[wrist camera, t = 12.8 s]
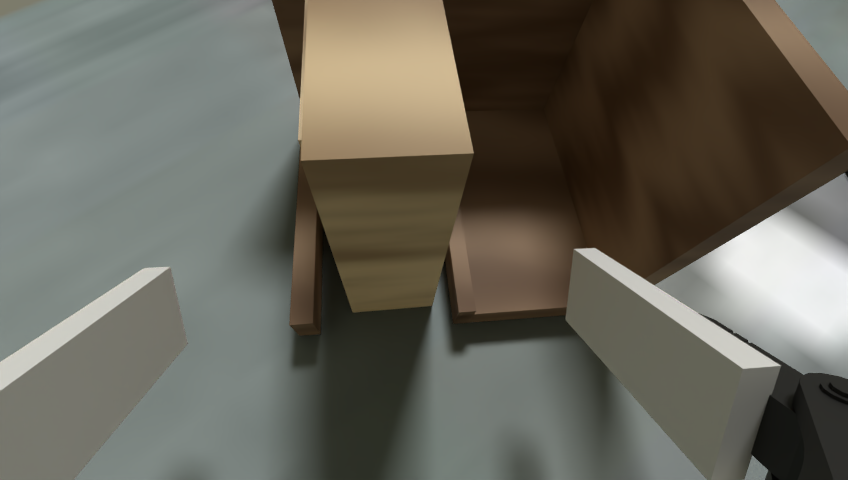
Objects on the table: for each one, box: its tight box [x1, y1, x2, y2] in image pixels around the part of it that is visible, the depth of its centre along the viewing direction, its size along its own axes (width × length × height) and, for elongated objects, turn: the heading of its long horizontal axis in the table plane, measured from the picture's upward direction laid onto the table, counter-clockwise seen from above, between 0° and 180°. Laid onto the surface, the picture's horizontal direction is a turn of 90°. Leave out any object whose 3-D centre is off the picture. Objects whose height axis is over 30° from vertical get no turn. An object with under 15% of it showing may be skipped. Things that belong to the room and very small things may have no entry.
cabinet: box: [272, 0, 848, 336], centre depth 17 cm, size 14×16×13 cm
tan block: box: [298, 0, 474, 313], centre depth 17 cm, size 10×4×12 cm, turn 6°
